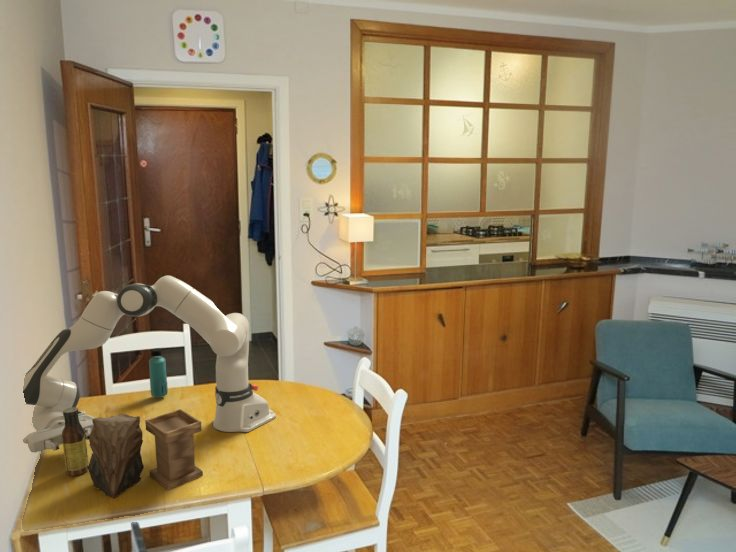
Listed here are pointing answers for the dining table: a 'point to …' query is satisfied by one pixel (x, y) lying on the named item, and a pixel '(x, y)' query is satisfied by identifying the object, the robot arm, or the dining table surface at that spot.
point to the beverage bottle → (158, 374)
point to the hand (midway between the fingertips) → (73, 442)
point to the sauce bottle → (74, 443)
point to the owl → (115, 453)
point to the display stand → (174, 448)
